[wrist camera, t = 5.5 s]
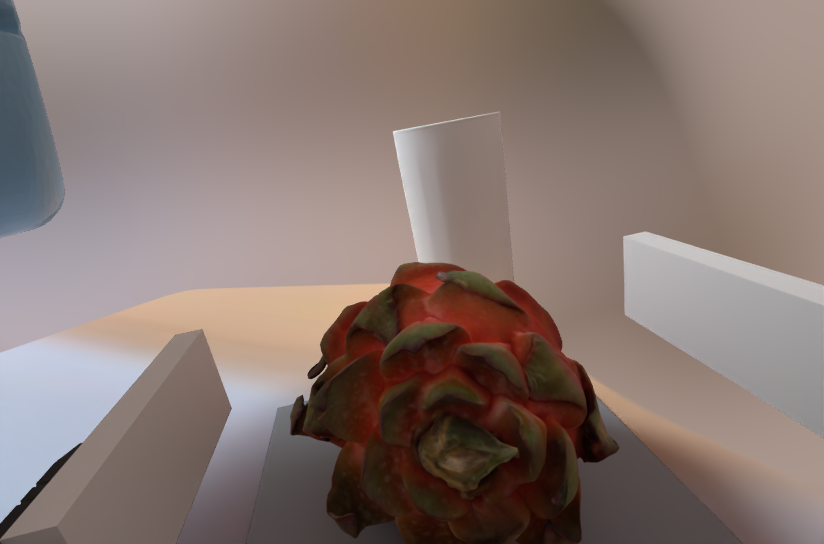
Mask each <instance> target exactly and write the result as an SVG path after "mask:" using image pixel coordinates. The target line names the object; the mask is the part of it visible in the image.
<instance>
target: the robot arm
mask: <svg viewBox="0 0 824 544" xmlns="http://www.w3.org/2000/svg"><path fill="white" fill-rule="evenodd" d="M64 195H65V189H64V183H63V177H62V172H61V167H60V163H59V159H58V155H57V151H56V147H55V143H54V139H53V135H52V131H51V128H50V124H49V120H48V116H47V113H46V109H45V105H44V102H43V98H42V95H41V91H40V88H39V84H38V81H37V78H36V73H35V70H34V67H33V63H32V60H31V57H30V54H29V50H28V47H27V44H26V41H25V38H24V36H23V34H22V32H21V27H20V21H19V18H18V15H17V11H16V8H15V5H14V2H13V0H0V238H2V237H6V236H10V235H14V234H18V233H22V232H26V231H30V230H33V229H36V228H38V227H40V226H42V225H45V224H46V223H47V222H49V221H50V220H51V219H52V218H53V217H54V216H55V214H56V213H57V212H58V211H59V210H60V209H61V206H62V203H63V200H64ZM623 240H624V304H625V305H624V306H625V315H626V316H628V317H629V318H631V319H632V320H634V321H636V322H637V323H639V324H641V325H642V326H644V327H645V328H647V329H649V330H650V331H652V332H653V333H655V334H657V335H658V336H660V337H662V338H663V339H665V340H666V341H668V342H669V343H671V344H673V345H674V346H676V347H678V348H679V349H681V350H682V351H684V352H686V353H687V354H689V355H690V356H692V357H694V358H695V359H697V360H698V361H700V362H702V363H703V364H705V365H707V366H708V367H710V368H711V369H713V370H715V371H716V372H718V373H720V374H721V375H723V376H724V377H726V378H727V379H729V380H731V381H732V382H734V383H736V384H737V385H739V386H740V387H742V388H744V389H745V390H747V391H749V392H750V393H752V394H753V395H755V396H757V397H758V398H760V399H761V400H763V401H765V402H766V403H768V404H769V405H771V406H773V407H774V408H776V409H778V410H779V411H781V412H782V413H784V414H786V415H787V416H789V417H790V418H792V419H794V420H795V421H797V422H799V423H800V424H802V425H803V426H805V427H806V428H808V429H810V430H811V431H813V432H815V433H816V434H818V435H820V436H821V437H823V438H824V286H823V285H820V284H817V283H814V282H810V281H807V280H804V279H800V278H797V277H794V276H790V275H787V274H784V273H780V272H777V271H774V270H771V269H767V268H764V267H761V266H757V265H754V264H751V263H748V262H744V261H741V260H738V259H734V258H731V257H728V256H724V255H721V254H718V253H715V252H711V251H708V250H704V249H701V248H698V247H695V246H692V245H688V244H685V243H681V242H678V241H675V240H672V239H668V238H665V237H662V236H659V235H655V234H652V233H648V232H642V233H637V234H633V235H628V236H624V237H623ZM231 409H232V408H231V405H230V402H229V400H228V397H227V394H226V392H225V389H224V386H223V383H222V381H221V378H220V375H219V373H218V370H217V367H216V365H215V362H214V359H213V356H212V354H211V351H210V348H209V346H208V343H207V340H206V338H205V335H204V332H203V329H201V330H196V331H191V332H187V333H182V334H178V335H175V336H174V337H173V338H172V339H171V341H170V342H169V343H168V344H167V345H166V346H165V348H164V349H163V350H162V351H161V352H160V353H159V355H158V356H157V357H156V358H155V359H154V360H153V362H152V363H151V364H150V365H149V366H148V367H147V369H146V370H145V371H144V372H143V373H142V374H141V376H140V377H139V378H138V379H137V380H136V381H135V383H134V384H133V385H132V386H131V387H130V388H129V390H128V391H127V392H126V393H125V394H124V395H123V397H122V398H121V399H120V400H119V401H118V402H117V404H116V405H115V406H114V407H113V408H112V409H111V411H110V412H109V413H108V414H107V415H106V416H105V418H104V419H103V420H102V421H101V422H100V423H99V425H98V426H97V427H96V428H95V429H94V430H93V432H92V433H91V434H90V435H89V436H88V437H87V439H86V440H85V441H84V442H83V443H80V444H78V445H77V446H76V447H75V448H73V449H72V450H71V451H69V452H68V453H67V454H65V455H64V456H63V457H62V458H60V459H59V460H58V461H56V462H55V463H54V464H53V465H52V466H51V467H50V469H49V470H48V471H47V472H46V473H45V474H44V475H43V476H42V478H41V479H40V480H39V481H38V482H37V483H36V487H33V488H32V489H31V490H30V491H29V492H28V493H27V494H26V495H25V497H24V498H23V499H22V500H21V504H20V505H17V506H16V507H15V508H14V509H13V510H12V511H11V512H10V513H9V515H8V516H7V517H6V518H5V519H4V520H3V521H2V522H1V523H0V544H176V542H177V539H178V537H179V535H180V532H181V530H182V527H183V525H184V523H185V520H186V518H187V515H188V513H189V510H190V508H191V506H192V503H193V501H194V498H195V496H196V493H197V491H198V489H199V486H200V484H201V481H202V479H203V477H204V474H205V472H206V469H207V467H208V464H209V462H210V460H211V457H212V455H213V452H214V450H215V448H216V445H217V443H218V440H219V438H220V435H221V433H222V431H223V428H224V426H225V423H226V421H227V418H228V416H229V414H230V411H231Z"/></svg>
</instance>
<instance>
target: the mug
mask: <svg viewBox="0 0 824 544" xmlns="http://www.w3.org/2000/svg"><path fill="white" fill-rule="evenodd" d="M393 135H394V140H395V145H396V151H397V157H398V161H399V167H400V172H401V177H402V182H403V187H404V191H405V197H406V201H407V206H408V211H409V216H410V221H411V226H412V231H413V236H414V241H415V246H416V251H417V256H418V261H419V262H421V263H448V264H454V265H457V266H459V267H461V268H464V269H465V270H467V271H473V272H477V273H480V274H481V275H483V276H484V277H486V278H488V279H489V280H490V281H492V282H493V283H496V282H499V281H502V280H510V281H512V282H513V283H514V277H513V261H512V248H511V236H510V224H509V213H508V199H507V187H506V173H505V160H504V148H503V138H502V130H501V121H500V112H495V113H490V114H484V115H479V116H473V117H468V118H463V119H457V120H452V121H446V122H441V123H436V124H430V125H425V126H419V127H414V128H409V129H403V130H398V131H394V132H393Z"/></svg>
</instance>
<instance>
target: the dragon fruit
mask: <svg viewBox="0 0 824 544" xmlns="http://www.w3.org/2000/svg"><path fill="white" fill-rule="evenodd" d="M320 346H321V351H322V354H323V356H322V358H321V360H320V361H319V363H318V364H316V365H315V366H313V367H312V368H311V370H310V371H309V372H308V379H313V378H315V377H316V376H318V375H319V374H320V373H321V372H322V371H323V370H324V368H325V366H326V364H327V365H328V367H327V369H326V370H325V372H324V373H323V374H322V375H320V376H319V378H318V379H317V380H316V382H315V383H314V384H313V386H312V388H311V394H310V398H309V402H308V403H307V404H306V405H304V398H303V395H301V396H300V397H298V398H297V399H296V401H295V403H294V405H293V408H292V412H291V414H290V420H291V427H290V434H291V435H292V436H294V435H302V436H308V437H312V438H314V439H316V440H320V441H325V442H331V443H333V444H335V445H337V446H338V447H341V448H342V449H341V451H340V453H339V455H338V458H337V460H336V463H335V467H334V471H333V475H332V478H331V480H332V486H331V489H330V491H329V493H328V495H327V501H326V511H327V514H328V515H329V516H330V517H331V518H332V519H334V521H335V522H336V523H337V525H338V527H339V528H340V529H341V530H342V531H343V532H345V533H346V534H348V535H350V536H352V537H353V538H354V539H355V538H357V537H358V536H359V534H360V532H361V531H362V530H363V529H364V528H365V527H367V526H371V525H377V524H381V523H385V522H391V521H394V520H396V525H397V528H398V530H399V533H400V535H401V536H402V538H403V540H404V541H405V542H406V544H511V543H512V542H513V541H515V542H517V543H518V544H577V543H580V541H581V540H582V535H581V534H582V529H581V520H580V505H581V482H580V478H579V474H578V473H579V470H578V463H577V459H578V458H581V459H582V460H583V462H584V463H585V462H589V463H598V462H600V461H602V460H604V459H606V458H607V457H609V456H610V455H612V454H614V453H616V452H617V451H618V450H619V446H618V444H617V442H616V441H615V440H613V439H612V438H611V437H610V436H609V435H608V433H607V431H606V427H605V425H604V423H603V420H602V418H601V414H600V412H599V407H598V403H597V399H596V395H595V392H594V389H593V386H592V383H591V381H590V379H589V377H588V375H587V373H586V371H585V369H584V368H583V366H582V365H581V364H579V363H578V362H577V361H575V360H572V359H569V358H567V357H566V356H565V355H564V354H563V353H562V352H561V349H562V340H561V337H560V334H559V331H558V329H557V326H556V325H555V323H554V321H553V319H552V318H551V316H550V315H549V313H548V312H547V311H546V310H544V309H543V308H542V307H541V306H540V305H539V304H538V303H537V302H536V301H535V300H534V299H533V298H532V297H531V296H530V295H529V294H528V293H527V292H526V291H525V290H523V289H522V288H520V287H519V286H518V285H516V284H515V283H513V282H512V281H510V280H502V281H499V282H496V283H493V282H492V281H490V280H489V279H488V278H486V277H484V276H483V275H481V274H480V273H477V272H473V271H467V270H465V269H464V268H461V267H459V266H457V265H454V264H448V263H421V262H414V263H407V264H403V265H400V266H399V268H398V269H397V270H396V272H395V274H394V277H393V279H392V281H391V285H390V287H388V288H387V289H385V290H383V291H382V292H380V293H379V295H376V296H374V297H373V298H372V299H371V300H370V301H369V302H359V303H356V304H354V305H350V306H347V307H346V308H345V309H344V310H343V311H342V313H341V314H340V316H339V317H338V318H337V320H336V321H335V322H334V323H333V325H332V326H331V327H330V328H329V329H328V330H327V331H326V333H325V334H324V336H323V338H322V341H321V344H320Z"/></svg>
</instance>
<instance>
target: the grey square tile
mask: <svg viewBox="0 0 824 544" xmlns="http://www.w3.org/2000/svg"><path fill="white" fill-rule="evenodd" d="M596 399H597V403H598V407H599V412H600V414H601V418H602V420H603V423H604V425H605V427H606V431H607V433H608V435H609V436H610V437H611V438H612V439H613V440H615V441H616V442H617V444H618V446H619V450H618V451H617V452H616V453H614V454H612V455H610V456H609V457H607V458H606V459H604V460H602V461H600V462H598V463H589V462H585V463H584V462H583V460H582V459H581V458H578V459H577V463H578V470H579V473H578V474H579V478H580V482H581V505H580V520H581V529H582V534H581V535H582V540H581V541H580V543H577V544H743V543H742V542H741V541H740V540H739V539H738V538H737V537H736V536H735V535H734V534H733V533H732V532H731V531H730V530H729V529H728V528H727V527H726V526H725V525H724V524H723V523H722V522H721V521H720V520H719V519H718V518H717V517H716V516H715V515H714V514H713V513H712V512H711V511H710V510H709V509H708V508H707V507H706V506H705V505H704V504H703V503H702V502H701V501H700V500H699V499H698V498H697V497H696V496H695V495H694V494H693V493H692V492H691V491H690V490H689V489H688V488H687V487H686V486H685V485H684V484H683V483H682V482H681V481H680V480H679V479H678V478H677V477H676V476H675V475H674V474H673V473H672V472H671V471H670V470H669V469H668V468H667V467H666V466H665V465H664V464H663V463H662V462H661V461H660V460H659V459H658V458H657V457H656V456H655V455H654V454H653V453H652V452H651V451H650V450H649V449H648V448H647V447H646V446H645V445H644V444H643V443H642V442H641V441H640V440H639V439H638V438H637V437H636V436H635V435H634V434H633V433H632V432H631V431H630V430H629V429H628V428H627V427H626V426H625V425H624V424H623V423H622V422H621V421H620V420H619V419H618V418H617V417H616V416H615V415H614V414H613V413H612V412H611V411H610V410H609V409H608V408H607V407H606V406H605V405H604V404H603V403H602V402H601V401H600V400H599V399H598V398H597V397H596ZM308 402H309V401H305V402H304V405H306V404H307V403H308ZM293 405H294V404H293ZM293 405H289V406H285V407H281V408H278V409H277V414H276V418H275V422H274V426H273V431H272V435H271V439H270V443H269V448H268V452H267V456H266V460H265V465H264V469H263V473H262V477H261V482H260V486H259V490H258V494H257V499H256V503H255V507H254V511H253V516H252V520H251V524H250V528H249V533H248V537H247V541H246V544H406V542H405V541H404V540H403V538H402V536H401V535H400V533H399V530H398V528H397V525H396V520H394V521H391V522H385V523H381V524H377V525H371V526H367V527H365V528H364V529H363V530H362V531H361V532H360V534H359V536H358V537H357V538H355V539H354V538H353V537H352V536H350V535H348V534H346V533H345V532H343V531H342V530H341V529H340V528H339V527H338V525H337V523H336V522H335V521H334V519H332V518H331V517H330V516H329V515H328V514H327V511H326V501H327V495H328V493H329V491H330V489H331V486H332V480H331V478H332V475H333V471H334V467H335V463H336V460H337V458H338V455H339V453H340V451H341V449H342V448H341V447H338V446H337V445H335V444H333V443H331V442H325V441H320V440H316V439H314V438H312V437H308V436H302V435H294V436H292V435H291V434H290V427H291V420H290V414H291V412H292V408H293ZM511 544H518V543H517V542H515V541H513V542H512V543H511Z"/></svg>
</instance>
